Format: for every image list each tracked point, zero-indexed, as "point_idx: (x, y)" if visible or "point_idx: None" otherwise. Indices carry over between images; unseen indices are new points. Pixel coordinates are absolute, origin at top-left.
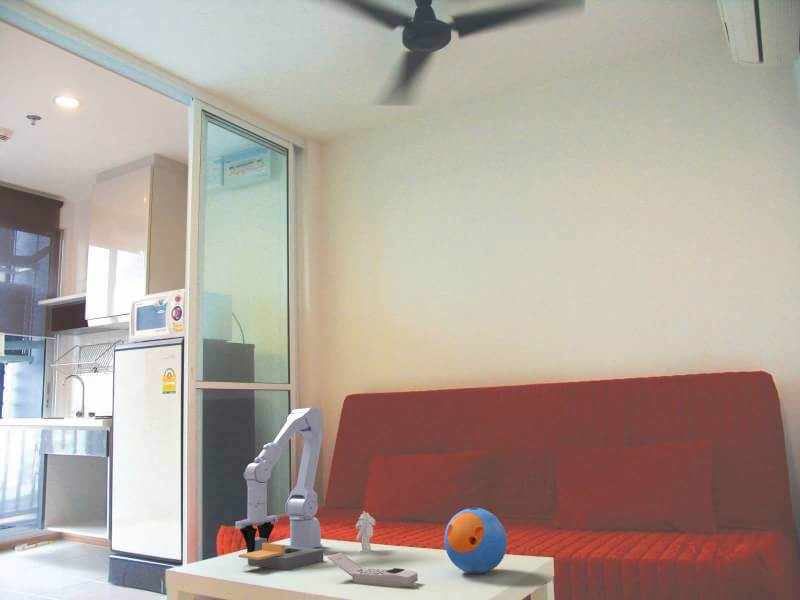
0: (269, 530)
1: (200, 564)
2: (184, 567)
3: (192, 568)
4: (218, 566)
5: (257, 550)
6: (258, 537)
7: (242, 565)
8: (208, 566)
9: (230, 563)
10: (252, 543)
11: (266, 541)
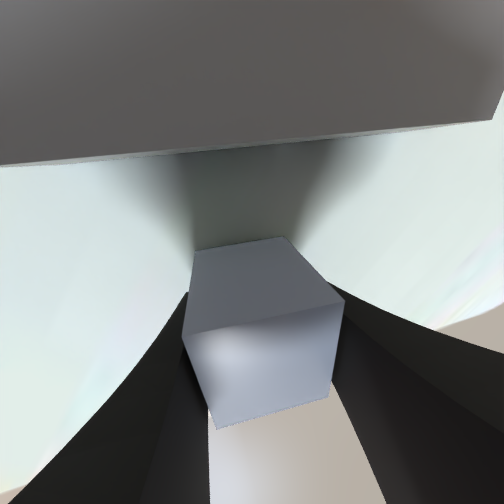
0: (81, 502)
1: (429, 316)
2: (474, 308)
3: (491, 276)
4: (457, 232)
5: (289, 252)
6: (216, 420)
7: (428, 141)
8: (458, 264)
9: (395, 249)
10: (353, 296)
11: (196, 307)
